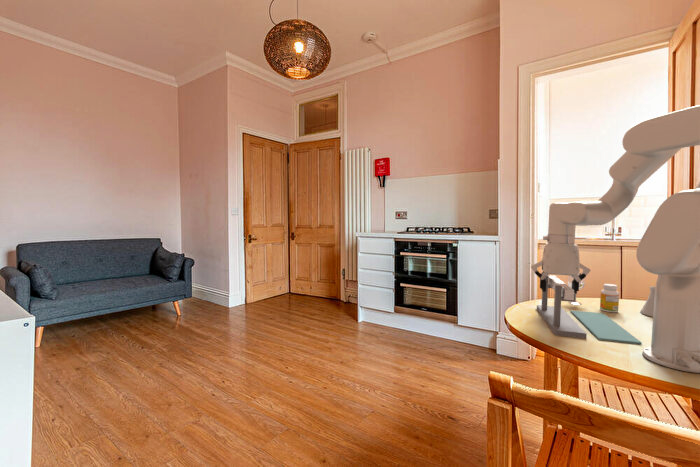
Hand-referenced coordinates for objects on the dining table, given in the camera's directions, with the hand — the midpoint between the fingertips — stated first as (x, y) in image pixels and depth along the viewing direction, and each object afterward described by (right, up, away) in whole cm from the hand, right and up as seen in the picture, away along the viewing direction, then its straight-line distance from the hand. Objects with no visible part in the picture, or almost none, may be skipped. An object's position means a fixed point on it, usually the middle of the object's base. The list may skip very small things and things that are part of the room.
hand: (558, 291), depth 110 cm
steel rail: (0, 0, 0) cm, 0 cm away
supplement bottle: (+27, -10, +13) cm, 32 cm away
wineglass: (+21, -9, +23) cm, 32 cm away
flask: (+39, -10, +8) cm, 41 cm away
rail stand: (0, -10, +1) cm, 10 cm away
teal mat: (+12, -10, -3) cm, 16 cm away
